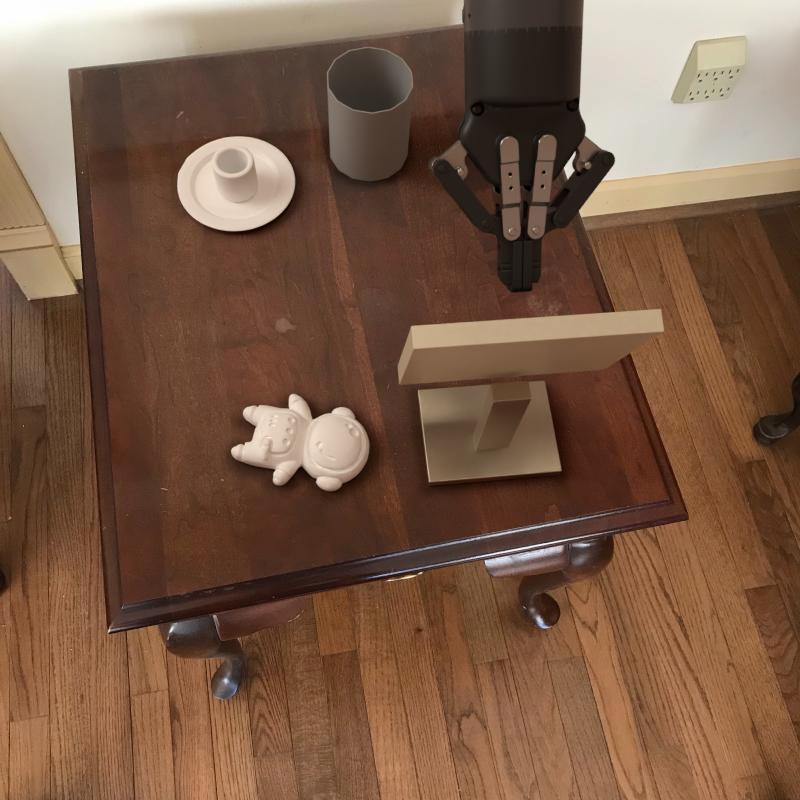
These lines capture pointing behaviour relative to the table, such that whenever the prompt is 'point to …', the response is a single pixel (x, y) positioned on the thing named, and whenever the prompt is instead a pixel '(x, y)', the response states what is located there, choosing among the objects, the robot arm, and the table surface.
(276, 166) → the candle holder
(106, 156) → the table surface
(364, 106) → the cup
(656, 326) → the monitor screen
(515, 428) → the monitor stand
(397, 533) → the table surface
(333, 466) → the astronaut figurine
